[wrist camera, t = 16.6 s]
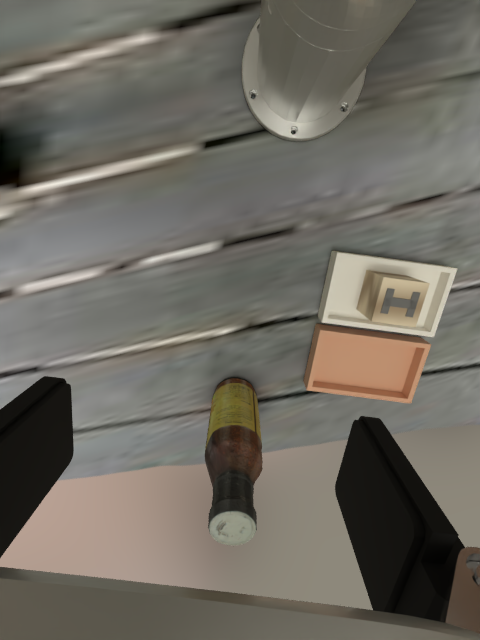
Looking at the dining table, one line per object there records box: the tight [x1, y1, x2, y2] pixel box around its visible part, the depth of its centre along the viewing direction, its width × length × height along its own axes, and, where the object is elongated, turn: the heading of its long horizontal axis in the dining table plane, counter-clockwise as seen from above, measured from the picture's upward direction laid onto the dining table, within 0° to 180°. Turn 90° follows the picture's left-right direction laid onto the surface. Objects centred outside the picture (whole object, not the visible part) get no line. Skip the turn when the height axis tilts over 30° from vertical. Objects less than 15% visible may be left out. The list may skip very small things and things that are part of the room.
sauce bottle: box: [205, 378, 262, 545], centre depth 35 cm, size 7×6×20 cm
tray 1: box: [318, 251, 457, 337], centre depth 38 cm, size 8×14×2 cm, turn 83°
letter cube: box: [356, 270, 430, 327], centre depth 36 cm, size 5×5×5 cm
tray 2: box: [304, 324, 431, 403], centre depth 41 cm, size 8×14×2 cm, turn 83°
